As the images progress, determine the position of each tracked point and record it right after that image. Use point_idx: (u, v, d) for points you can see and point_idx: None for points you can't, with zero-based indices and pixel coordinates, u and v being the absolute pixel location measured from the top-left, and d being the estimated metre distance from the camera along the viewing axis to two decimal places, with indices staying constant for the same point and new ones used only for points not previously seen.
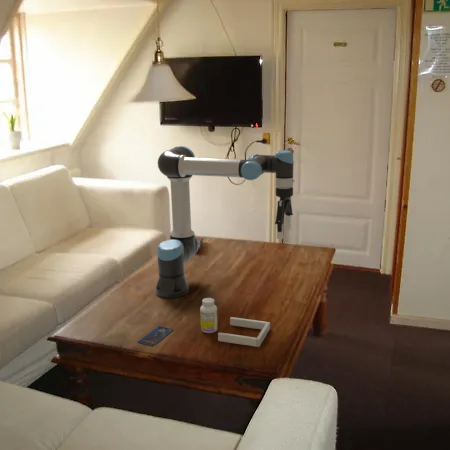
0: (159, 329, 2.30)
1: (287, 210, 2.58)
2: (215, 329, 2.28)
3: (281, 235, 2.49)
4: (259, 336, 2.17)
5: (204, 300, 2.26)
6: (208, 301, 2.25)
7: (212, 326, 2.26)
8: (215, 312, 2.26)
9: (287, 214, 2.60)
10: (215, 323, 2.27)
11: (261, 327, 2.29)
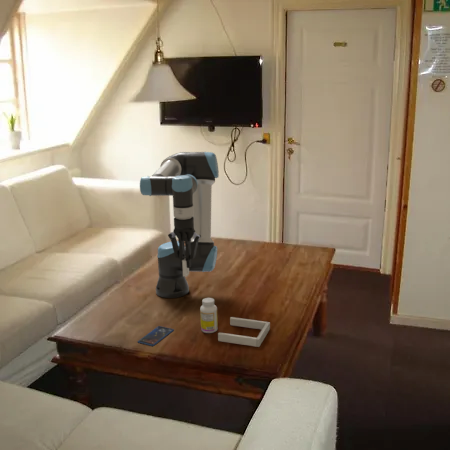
0: (159, 329, 2.30)
1: None
2: (215, 329, 2.28)
3: None
4: (259, 336, 2.17)
5: (204, 300, 2.26)
6: (208, 301, 2.25)
7: (212, 326, 2.26)
8: (215, 312, 2.26)
9: None
10: (215, 323, 2.27)
11: (261, 327, 2.29)
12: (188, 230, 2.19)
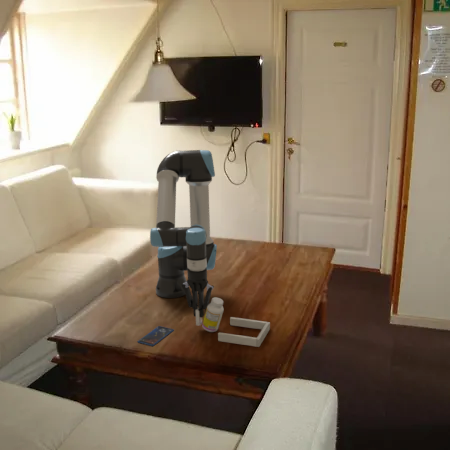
0: (159, 329, 2.30)
1: None
2: (216, 329, 2.27)
3: None
4: (259, 336, 2.17)
5: (214, 300, 2.24)
6: (217, 302, 2.24)
7: (214, 326, 2.26)
8: (221, 314, 2.25)
9: None
10: (218, 324, 2.26)
11: (261, 327, 2.29)
12: (201, 281, 2.23)
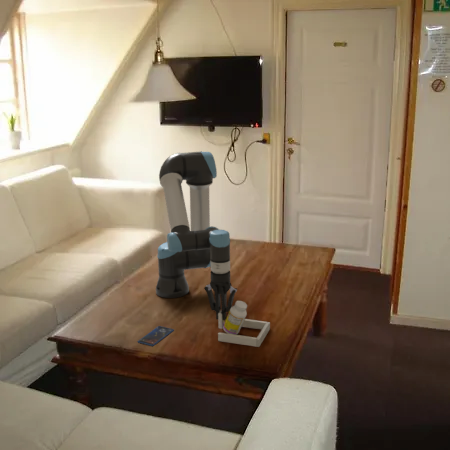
0: (159, 329, 2.30)
1: None
2: (237, 333, 2.24)
3: None
4: (259, 336, 2.17)
5: (237, 303, 2.21)
6: (241, 305, 2.20)
7: (235, 329, 2.23)
8: (244, 318, 2.22)
9: None
10: (239, 327, 2.23)
11: (261, 327, 2.29)
12: (225, 284, 2.20)
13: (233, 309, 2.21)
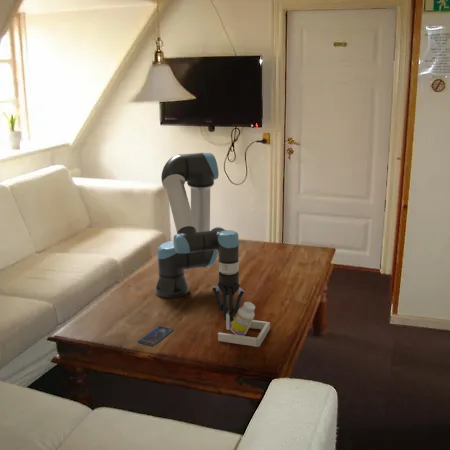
0: (159, 329, 2.30)
1: None
2: (244, 334, 2.23)
3: None
4: (259, 336, 2.17)
5: (246, 304, 2.20)
6: (249, 307, 2.19)
7: (243, 331, 2.21)
8: (252, 319, 2.21)
9: None
10: (247, 329, 2.22)
11: (261, 327, 2.29)
12: (233, 285, 2.19)
13: (241, 310, 2.20)
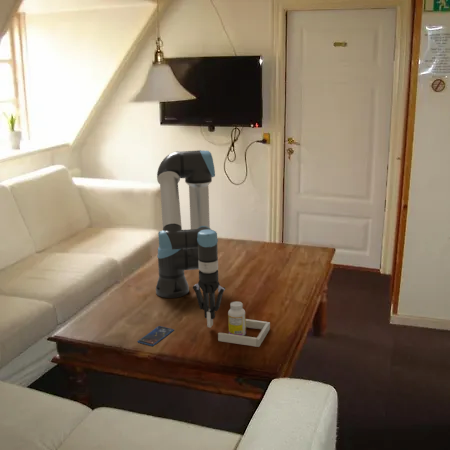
0: (159, 329, 2.30)
1: None
2: (243, 333, 2.23)
3: None
4: (259, 336, 2.17)
5: (232, 304, 2.22)
6: (236, 304, 2.21)
7: (240, 330, 2.22)
8: (243, 316, 2.22)
9: None
10: (243, 327, 2.23)
11: (261, 327, 2.29)
12: (213, 283, 2.22)
13: (230, 311, 2.22)
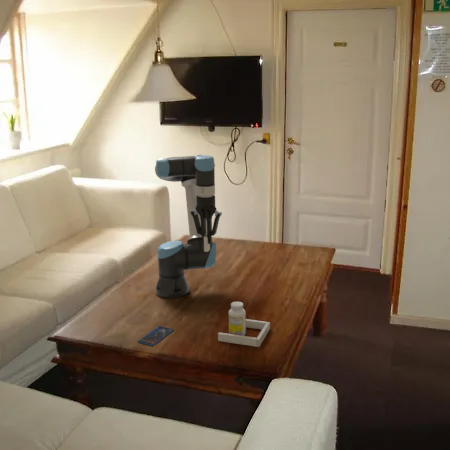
0: (159, 329, 2.30)
1: None
2: (243, 333, 2.23)
3: None
4: (259, 336, 2.17)
5: (233, 304, 2.22)
6: (237, 305, 2.21)
7: (240, 330, 2.22)
8: (244, 316, 2.22)
9: None
10: (243, 327, 2.23)
11: (261, 327, 2.29)
12: (210, 208, 2.30)
13: (230, 311, 2.22)
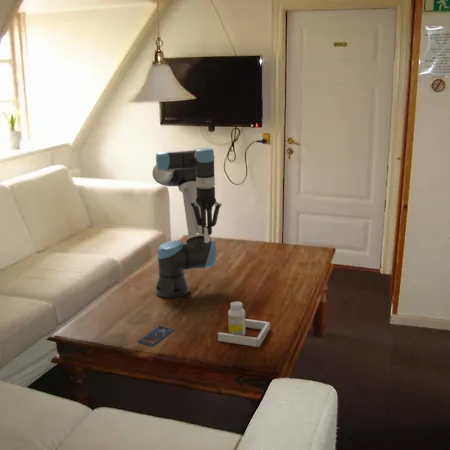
0: (159, 329, 2.30)
1: None
2: (243, 333, 2.23)
3: None
4: (259, 336, 2.17)
5: (232, 304, 2.22)
6: (236, 305, 2.21)
7: (240, 330, 2.22)
8: (243, 316, 2.22)
9: None
10: (243, 327, 2.23)
11: (261, 327, 2.29)
12: (210, 199, 2.36)
13: (230, 311, 2.22)
